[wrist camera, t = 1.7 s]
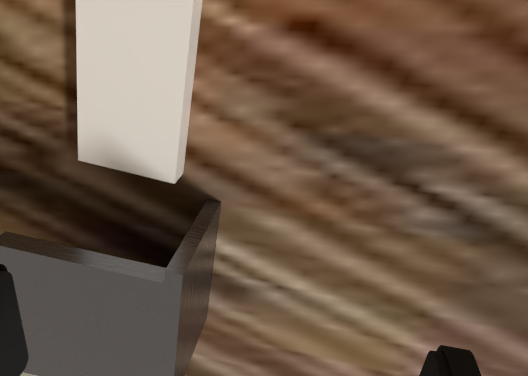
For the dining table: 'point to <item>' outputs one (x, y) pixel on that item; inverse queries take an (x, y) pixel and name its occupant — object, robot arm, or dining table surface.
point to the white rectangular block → (136, 83)
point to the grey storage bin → (112, 304)
